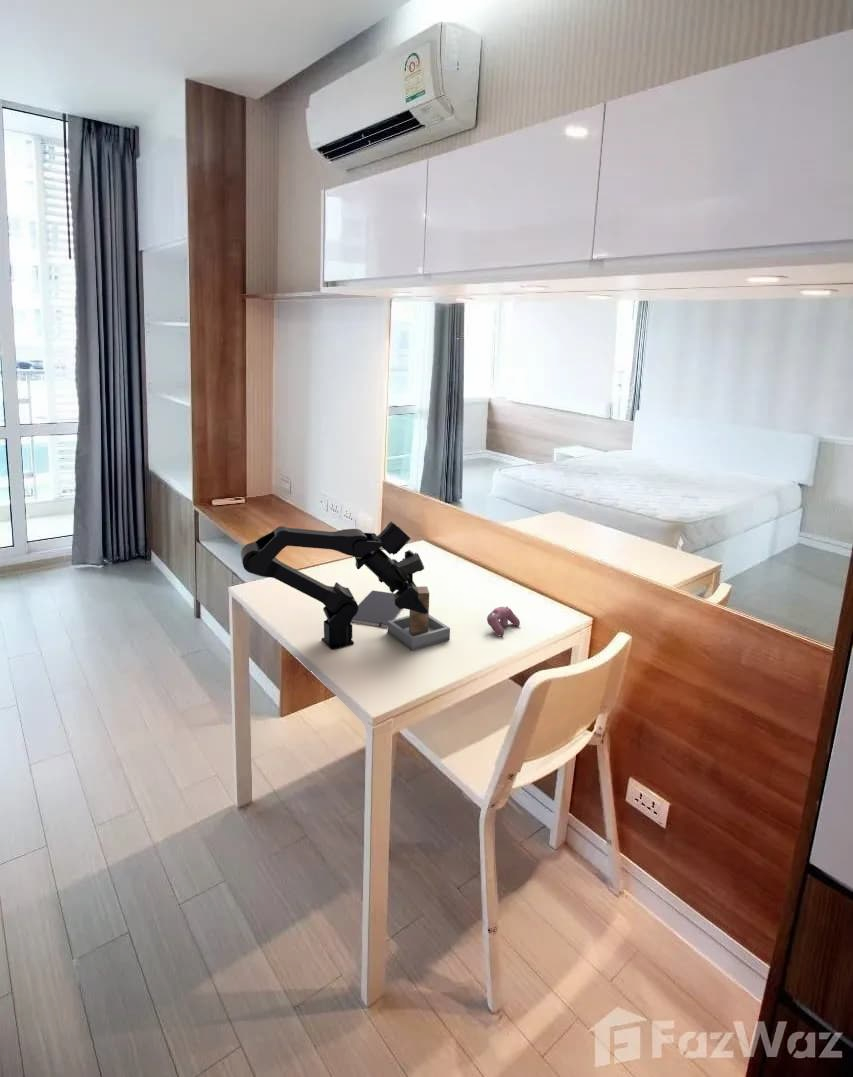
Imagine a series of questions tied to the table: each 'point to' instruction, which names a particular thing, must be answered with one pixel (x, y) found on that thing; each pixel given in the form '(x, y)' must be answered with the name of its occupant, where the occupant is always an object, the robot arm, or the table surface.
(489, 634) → the table surface
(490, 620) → the video game controller
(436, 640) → the tray
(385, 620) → the notebook
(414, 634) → the walnut handle block
